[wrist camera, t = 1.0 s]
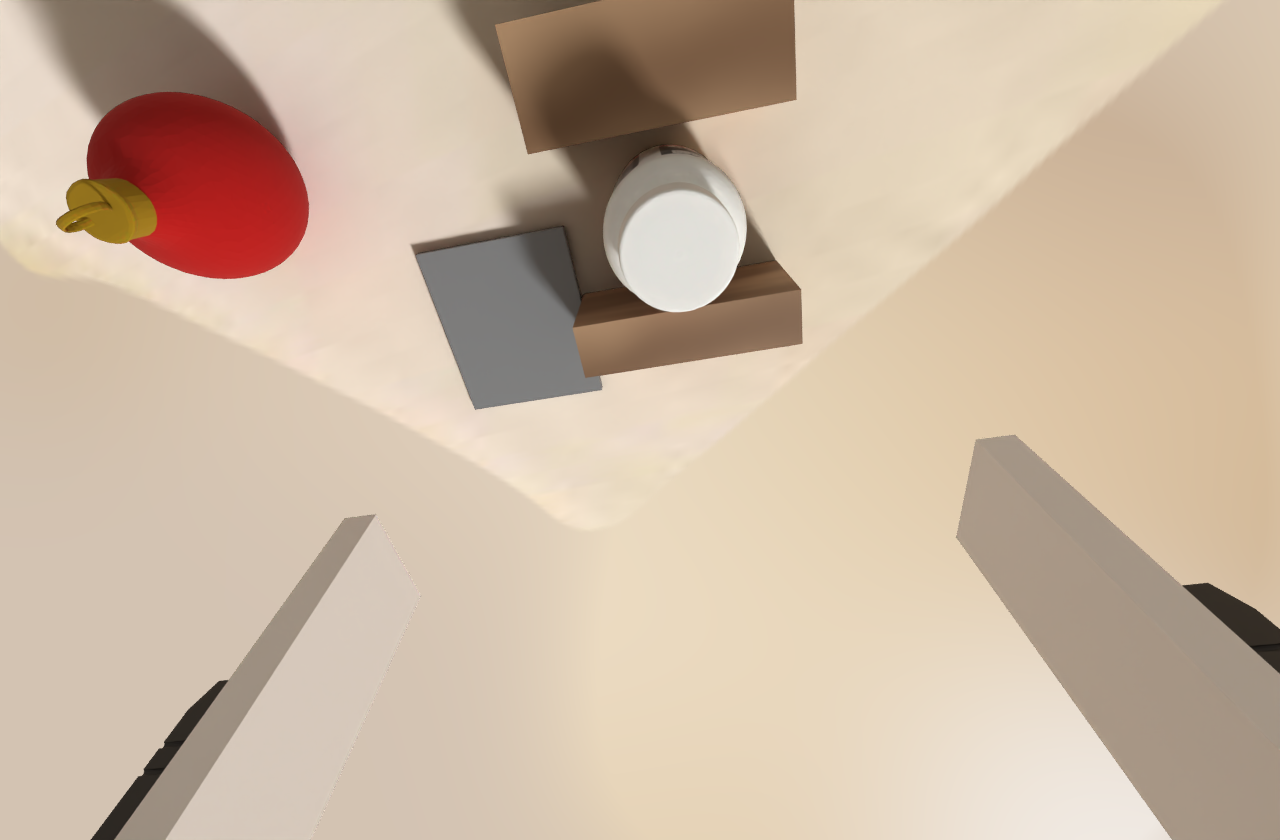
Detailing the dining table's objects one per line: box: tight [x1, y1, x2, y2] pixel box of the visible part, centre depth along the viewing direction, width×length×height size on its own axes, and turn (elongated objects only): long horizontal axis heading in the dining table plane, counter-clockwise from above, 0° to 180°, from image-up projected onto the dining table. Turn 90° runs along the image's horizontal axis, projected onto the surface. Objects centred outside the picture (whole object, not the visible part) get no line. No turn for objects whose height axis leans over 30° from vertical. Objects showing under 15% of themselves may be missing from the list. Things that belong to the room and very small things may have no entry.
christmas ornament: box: [56, 92, 309, 279], centre depth 21 cm, size 7×7×10 cm
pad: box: [416, 226, 602, 410], centre depth 28 cm, size 9×8×1 cm
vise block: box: [495, 0, 802, 378], centre depth 23 cm, size 14×10×5 cm
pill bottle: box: [603, 145, 747, 312], centre depth 21 cm, size 5×5×10 cm
